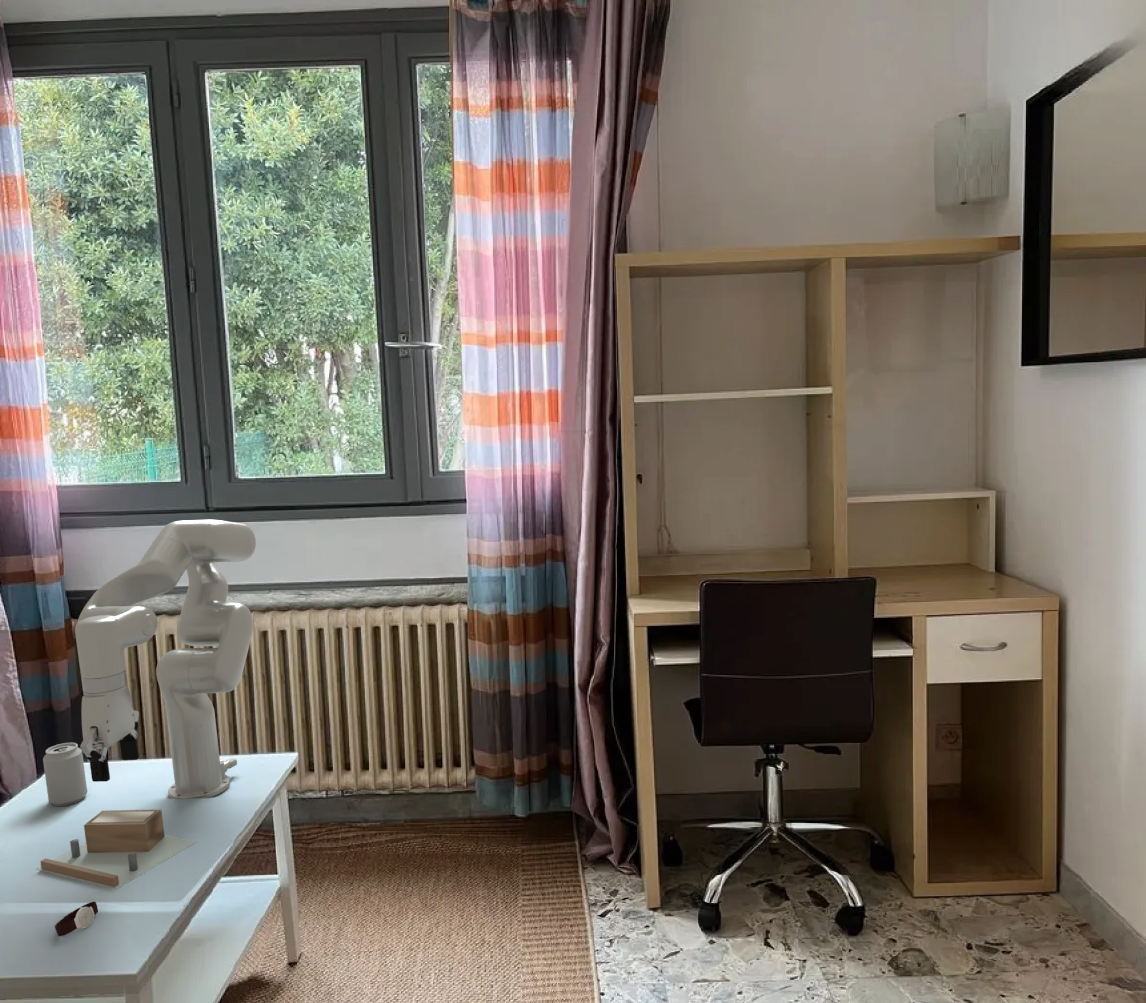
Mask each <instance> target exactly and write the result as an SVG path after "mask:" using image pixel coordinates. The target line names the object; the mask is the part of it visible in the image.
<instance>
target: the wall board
mask: <svg viewBox="0 0 1146 1003" xmlns="http://www.w3.org/2000/svg"><path fill="white" fill-rule="evenodd" d="M164 835H165V837H164V838H163V839H162V840H160V841H159V842H158V843H157V844H156V845H155V846H154V847H153V848H152V849H151V850H150V851H149V852H110V853H88V852H87V845H86V842H85V843H83V844H82V845H80V841H79V839H78V838H75V839H72V840H70V841H69V844H70V851H68V852H66V853H65V854H63V855H61V856H58V857H57V858H55V859H51V858H50V859H49V858H43V859H41V860H40V867H38V868H36V871H40V872H45V873H48V874H53V875H58V876H61V877H64V878H65V877H66V878H70V879H74V880H78V881H82V882H86V883H89V884H94V885H98V886H102V887H106V888H111V889H114V890H119V889H120V888H121V887H123V886H124V885H127V884H128V883H130V882H133V881H134V880H135V879H137V878H138V877H140V876H142V875H143V874H145V873H147V872H148V871H150V870H151V869H155V867H156V866H158V865H160V864H161V863H163V862H165V861H167V860H168V859H170V858H172V857H174V856H175V855H177V854H179V853H180V852H182V851H184V850H185V849H187V848H189V847H190V846H192V845H194V844H196V843H197V842H198V840H193V839H189V838H188V839H187V838H183V837H179V836H178V837H177V836H172V835H169V834H164Z"/></svg>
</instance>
